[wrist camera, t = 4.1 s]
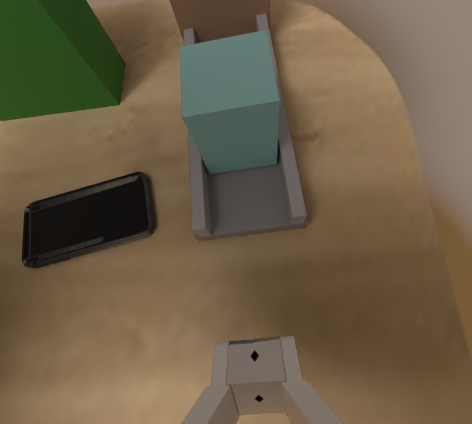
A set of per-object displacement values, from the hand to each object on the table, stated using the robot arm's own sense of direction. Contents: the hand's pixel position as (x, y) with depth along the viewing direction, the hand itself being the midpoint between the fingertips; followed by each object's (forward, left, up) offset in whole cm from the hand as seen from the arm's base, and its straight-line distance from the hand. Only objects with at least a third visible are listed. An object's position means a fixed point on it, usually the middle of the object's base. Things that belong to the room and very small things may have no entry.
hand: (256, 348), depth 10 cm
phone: (-18, +12, -15) cm, 26 cm away
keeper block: (0, +18, -12) cm, 22 cm away
